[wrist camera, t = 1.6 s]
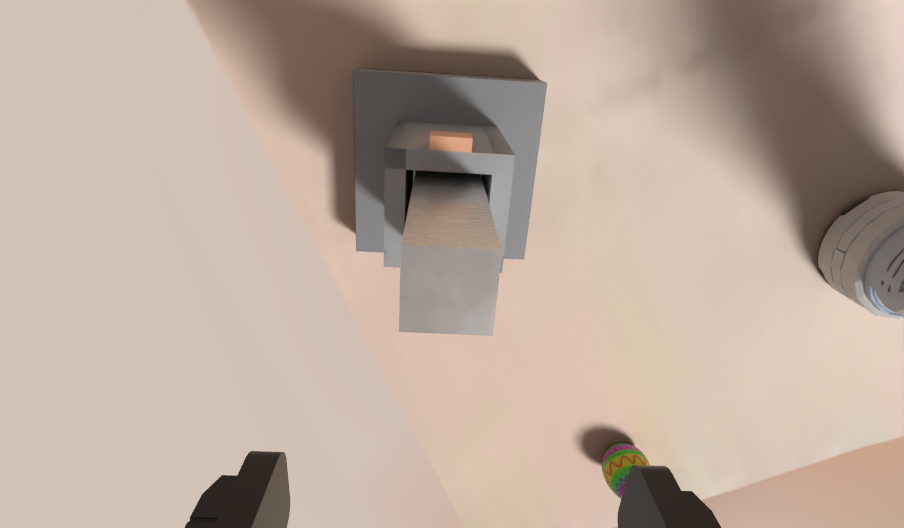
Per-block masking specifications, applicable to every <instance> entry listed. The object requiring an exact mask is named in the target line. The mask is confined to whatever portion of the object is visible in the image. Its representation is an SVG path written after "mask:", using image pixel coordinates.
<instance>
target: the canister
mask: <svg viewBox="0 0 904 528" xmlns="http://www.w3.org/2000/svg"><path fill="white" fill-rule="evenodd" d="M818 264H819V268H820V269H821V270H822V272H823V275H824V277H825V279H826V280H827V282H828V283H829V284H830V286H831V287H832V288H833V289H835V290H836V291H838V292H840V293H841V294H843V295H845V296H846V297H848V298H849V299H851V300H852V301H854V302H855V303H857V304H859V305H861V306H862V307H864V308H865V309H867V310H868V311H870V312H871V313H873V314H874V315H876V316H882V317H888V318H894V319H900V318H904V192H903V191H888V192H883V193H878V194H875V195H872V196H870V197H868V198H867V200H866V201H865V202H863V203H861V204H860V205H858V206H857V207H855V208H854V209H852V210H851V211H849V212H848V213H846V214H845V215H843V216H842V215H840V216H839V217H838V218H837V219H836V220H835V221H834V223H833V224H832V226H831V227H830V228H829V230H828V231H827V233H826V235H825V237H824V239H823V241H822V243H821V247H820V250H819V257H818Z"/></svg>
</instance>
